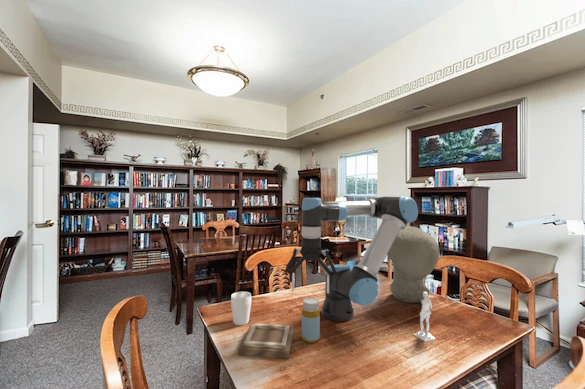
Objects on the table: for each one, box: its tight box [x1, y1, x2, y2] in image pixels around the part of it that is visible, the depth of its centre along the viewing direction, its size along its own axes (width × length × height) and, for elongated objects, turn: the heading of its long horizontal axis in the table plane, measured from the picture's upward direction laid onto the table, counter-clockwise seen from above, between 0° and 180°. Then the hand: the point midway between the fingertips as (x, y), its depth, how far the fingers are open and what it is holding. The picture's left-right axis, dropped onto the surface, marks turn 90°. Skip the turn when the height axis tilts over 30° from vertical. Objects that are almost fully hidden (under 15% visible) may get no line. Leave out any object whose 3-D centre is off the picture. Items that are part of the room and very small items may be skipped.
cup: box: [230, 291, 252, 326], centre depth 123 cm, size 9×9×12 cm
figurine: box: [413, 292, 436, 343], centre depth 111 cm, size 8×7×18 cm
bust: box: [387, 225, 440, 304], centre depth 146 cm, size 25×28×40 cm
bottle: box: [301, 297, 321, 344], centre depth 109 cm, size 7×7×15 cm
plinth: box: [237, 322, 295, 360], centre depth 105 cm, size 18×18×4 cm
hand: (310, 291), depth 109 cm, fingers open, 13 cm apart
